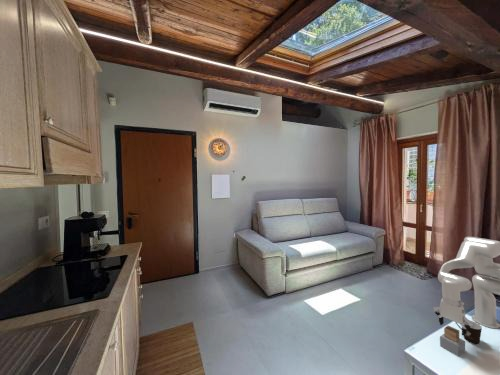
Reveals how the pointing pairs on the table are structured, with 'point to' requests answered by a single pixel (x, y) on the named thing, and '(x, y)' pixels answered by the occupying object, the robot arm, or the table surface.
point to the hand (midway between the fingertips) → (452, 328)
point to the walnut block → (451, 333)
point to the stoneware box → (452, 345)
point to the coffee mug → (473, 333)
